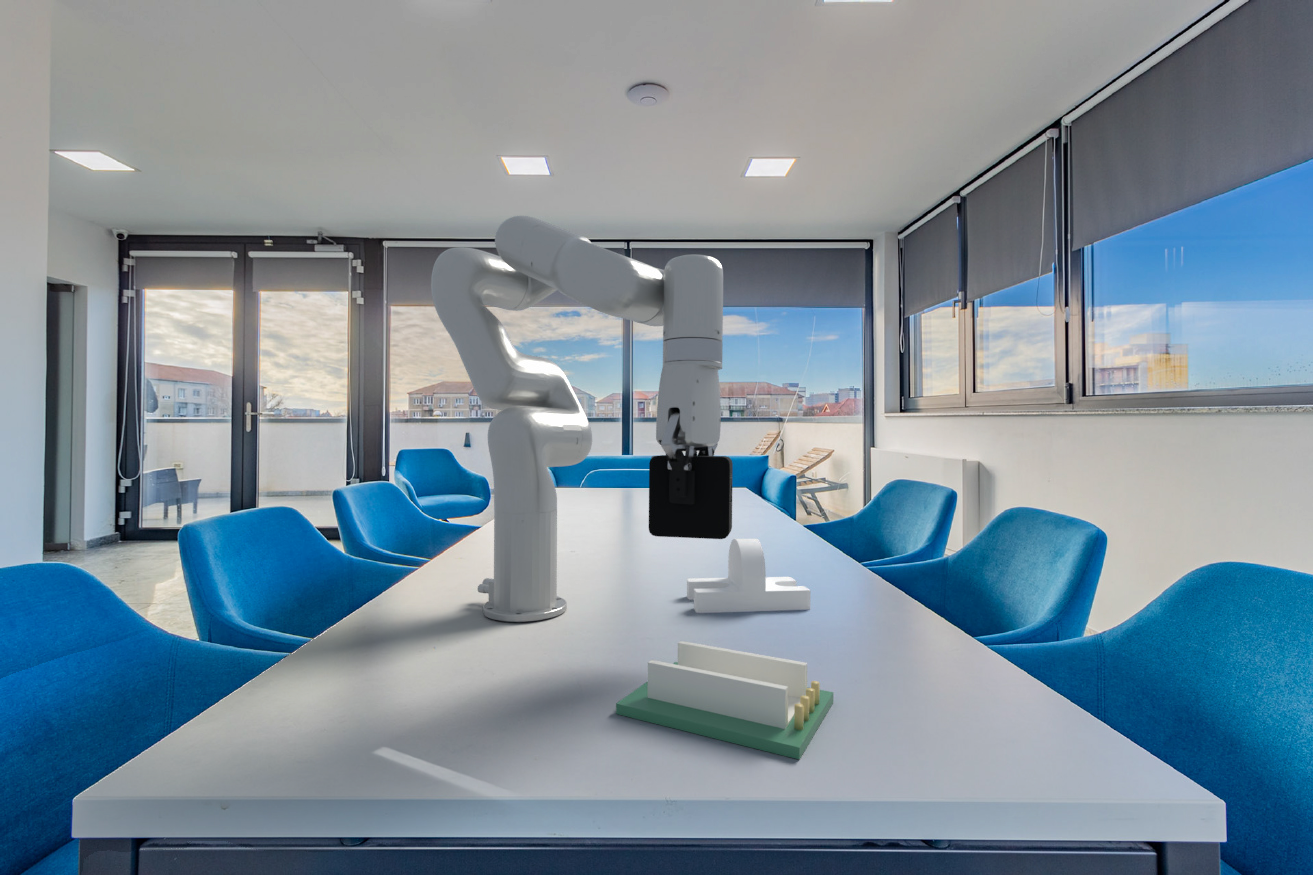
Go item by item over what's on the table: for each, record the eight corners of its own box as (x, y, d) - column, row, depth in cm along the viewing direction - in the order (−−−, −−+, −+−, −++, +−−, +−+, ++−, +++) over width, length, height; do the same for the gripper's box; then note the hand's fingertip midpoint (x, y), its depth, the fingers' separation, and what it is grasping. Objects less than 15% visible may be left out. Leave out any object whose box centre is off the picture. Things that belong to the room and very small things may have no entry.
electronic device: (728, 539, 75) (729, 457, 75) (648, 536, 77) (649, 455, 77) (731, 534, 79) (732, 456, 79) (655, 531, 81) (656, 455, 81)
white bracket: (789, 598, 106) (790, 533, 106) (810, 614, 97) (810, 543, 97) (686, 600, 104) (686, 535, 104) (696, 617, 95) (696, 544, 95)
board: (616, 713, 60) (616, 667, 60) (675, 670, 72) (675, 631, 72) (799, 759, 52) (799, 705, 52) (833, 701, 63) (833, 657, 63)
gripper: (693, 365, 87) (691, 495, 87) (633, 350, 72) (631, 506, 72) (743, 363, 84) (742, 498, 84) (691, 346, 69) (689, 510, 69)
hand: (690, 500), depth 78 cm, fingers closed on electronic device, 4 cm apart
